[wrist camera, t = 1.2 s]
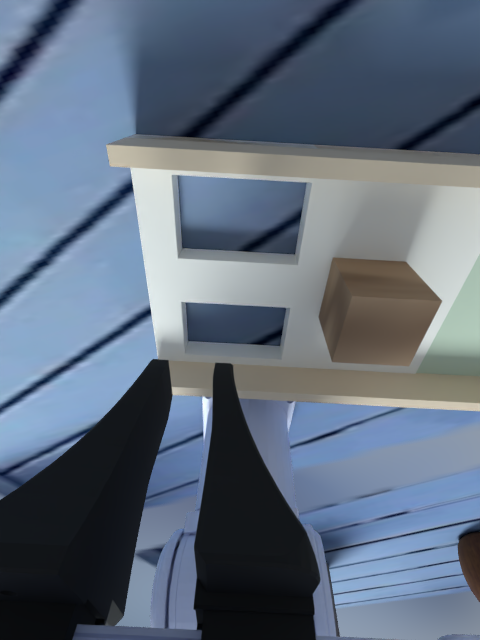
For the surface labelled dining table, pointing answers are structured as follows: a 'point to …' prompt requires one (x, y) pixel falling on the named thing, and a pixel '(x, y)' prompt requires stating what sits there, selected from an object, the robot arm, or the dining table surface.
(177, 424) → the dining table surface
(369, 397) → the board
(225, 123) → the dining table surface
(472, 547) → the wooden figurine
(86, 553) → the robot arm
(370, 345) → the walnut block
